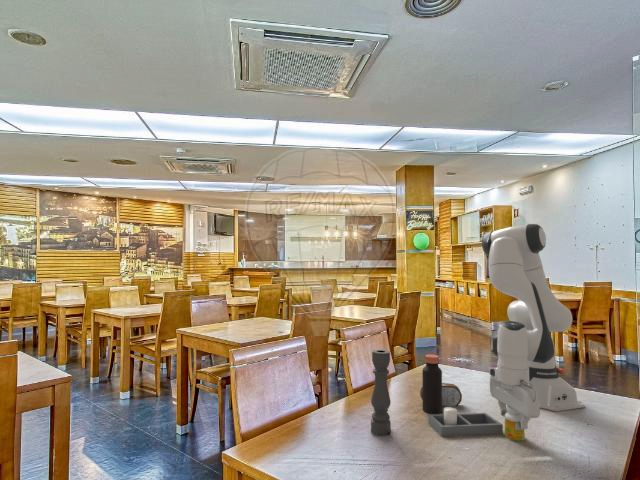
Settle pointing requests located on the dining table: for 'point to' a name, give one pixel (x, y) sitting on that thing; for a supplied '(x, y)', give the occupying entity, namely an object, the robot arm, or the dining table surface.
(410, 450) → the dining table surface
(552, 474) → the dining table surface
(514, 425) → the supplement bottle
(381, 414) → the candle holder
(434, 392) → the vinegar
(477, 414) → the caddy
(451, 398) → the tin
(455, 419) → the shaker
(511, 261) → the robot arm
